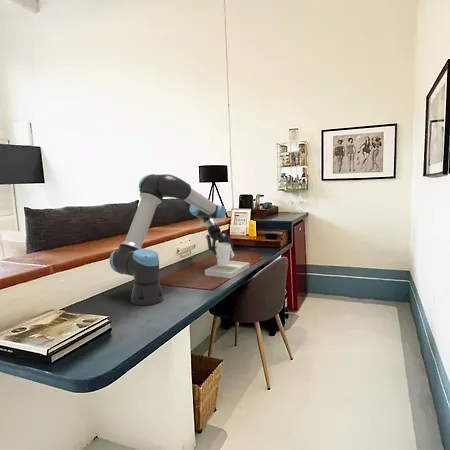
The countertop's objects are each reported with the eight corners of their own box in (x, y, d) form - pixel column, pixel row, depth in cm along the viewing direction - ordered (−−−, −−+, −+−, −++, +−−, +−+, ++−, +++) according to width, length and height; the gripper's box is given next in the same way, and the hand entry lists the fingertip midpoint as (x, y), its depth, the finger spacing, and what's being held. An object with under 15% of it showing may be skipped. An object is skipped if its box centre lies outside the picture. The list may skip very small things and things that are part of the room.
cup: (229, 265, 207) (229, 245, 206) (214, 265, 209) (214, 245, 207) (232, 262, 216) (232, 242, 214) (217, 261, 218) (217, 242, 216)
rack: (230, 278, 203) (230, 273, 203) (204, 275, 210) (204, 270, 210) (249, 267, 228) (249, 262, 227) (225, 264, 235) (225, 260, 235)
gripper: (225, 229, 229) (239, 258, 217) (195, 232, 218) (207, 263, 206) (229, 222, 224) (244, 252, 212) (199, 225, 213) (212, 256, 201)
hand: (226, 257), depth 209 cm, fingers closed on cup, 9 cm apart
